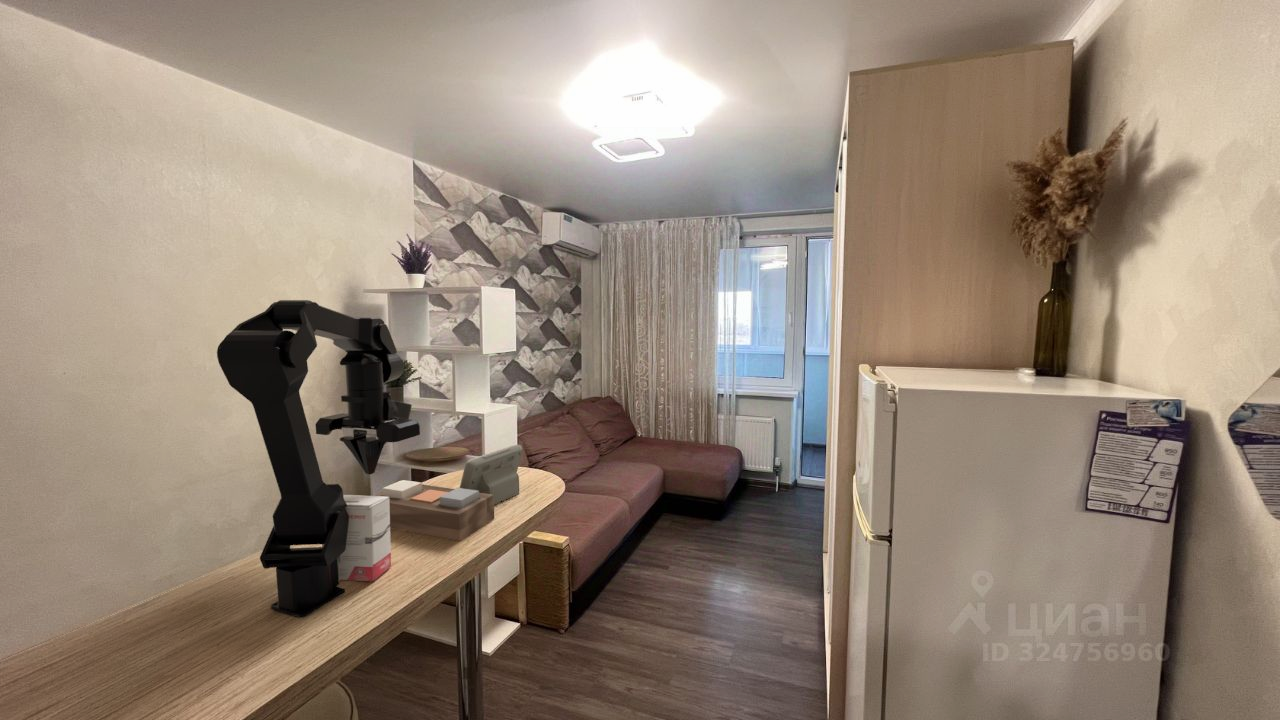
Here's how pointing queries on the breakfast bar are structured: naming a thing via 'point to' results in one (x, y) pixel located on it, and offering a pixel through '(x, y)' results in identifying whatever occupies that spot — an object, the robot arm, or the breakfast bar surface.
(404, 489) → the cream key
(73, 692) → the breakfast bar surface
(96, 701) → the breakfast bar surface
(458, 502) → the grey key
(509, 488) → the digital clock
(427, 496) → the terracotta key
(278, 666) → the breakfast bar surface
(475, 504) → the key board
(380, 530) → the ink box
